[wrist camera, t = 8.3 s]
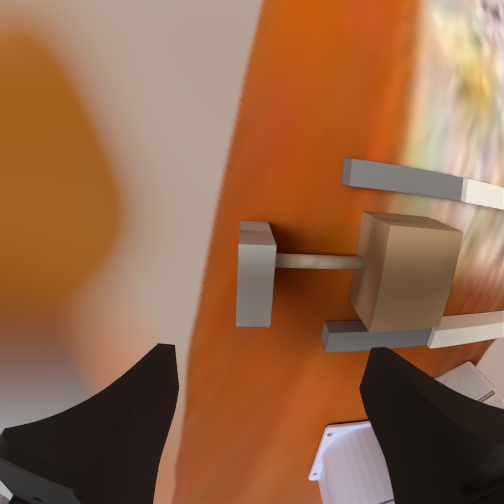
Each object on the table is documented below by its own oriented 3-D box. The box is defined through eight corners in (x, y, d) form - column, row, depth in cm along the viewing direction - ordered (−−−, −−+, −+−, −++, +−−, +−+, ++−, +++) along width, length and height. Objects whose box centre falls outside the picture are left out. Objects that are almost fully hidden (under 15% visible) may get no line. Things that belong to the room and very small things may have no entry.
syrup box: (418, 385, 23) (493, 510, 9) (470, 357, 22) (556, 460, 8) (418, 420, 24) (474, 530, 10) (466, 395, 24) (531, 490, 10)
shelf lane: (507, 323, 21) (525, 338, 18) (418, 334, 21) (436, 356, 18) (537, 198, 18) (560, 205, 15) (450, 175, 17) (477, 180, 14)
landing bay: (418, 334, 21) (426, 345, 19) (320, 339, 21) (325, 352, 19) (450, 175, 17) (463, 178, 16) (343, 158, 17) (352, 158, 16)
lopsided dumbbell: (411, 300, 20) (446, 335, 15) (237, 299, 20) (235, 343, 15) (427, 217, 18) (473, 236, 13) (240, 203, 18) (239, 220, 13)
